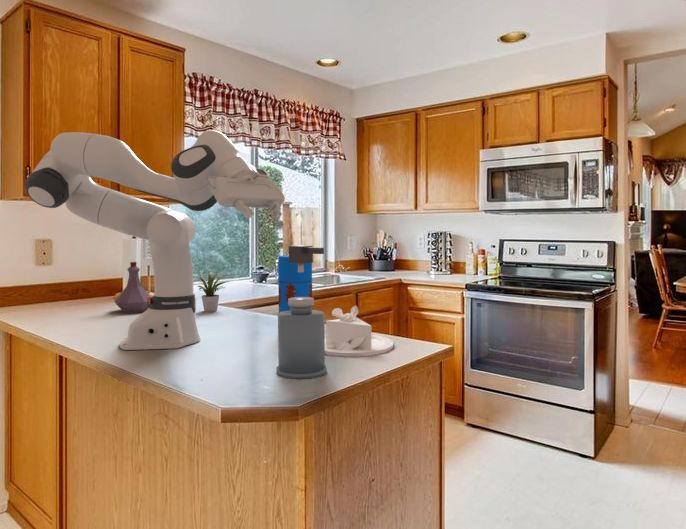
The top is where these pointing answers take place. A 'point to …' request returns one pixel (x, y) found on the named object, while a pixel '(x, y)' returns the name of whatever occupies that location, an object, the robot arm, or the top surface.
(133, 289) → the flask
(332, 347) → the dish
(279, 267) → the thermos
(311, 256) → the pump head
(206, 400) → the top surface
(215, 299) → the house plant
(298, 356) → the dispenser
